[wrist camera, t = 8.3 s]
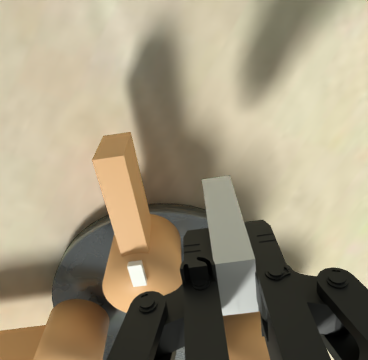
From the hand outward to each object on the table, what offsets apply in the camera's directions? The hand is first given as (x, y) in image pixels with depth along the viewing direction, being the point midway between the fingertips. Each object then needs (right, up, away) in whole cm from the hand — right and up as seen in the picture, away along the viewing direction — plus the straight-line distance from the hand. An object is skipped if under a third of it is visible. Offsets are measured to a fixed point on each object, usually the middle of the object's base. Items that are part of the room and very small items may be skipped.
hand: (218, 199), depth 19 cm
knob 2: (-5, -1, +4) cm, 7 cm away
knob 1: (-13, -11, +10) cm, 20 cm away
